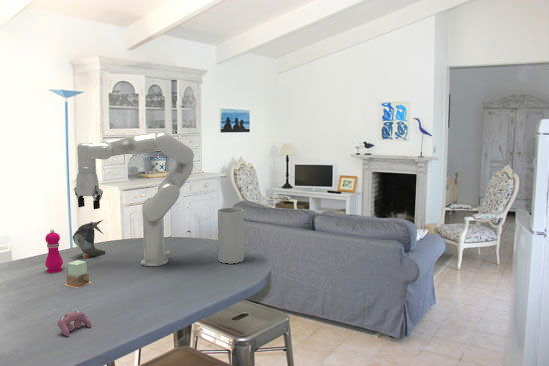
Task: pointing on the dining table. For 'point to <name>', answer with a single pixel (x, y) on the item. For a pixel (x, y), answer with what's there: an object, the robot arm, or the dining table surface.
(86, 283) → the cream wavy board
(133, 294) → the dining table surface
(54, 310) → the dining table surface
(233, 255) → the cylinder vase
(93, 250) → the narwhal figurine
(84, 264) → the sage block
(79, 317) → the video game controller
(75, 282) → the walnut base block
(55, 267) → the pepper mill
